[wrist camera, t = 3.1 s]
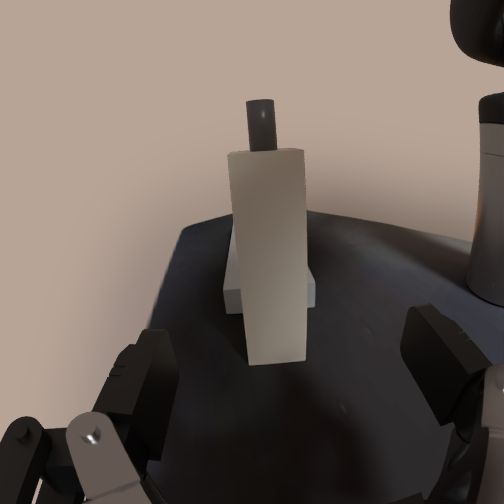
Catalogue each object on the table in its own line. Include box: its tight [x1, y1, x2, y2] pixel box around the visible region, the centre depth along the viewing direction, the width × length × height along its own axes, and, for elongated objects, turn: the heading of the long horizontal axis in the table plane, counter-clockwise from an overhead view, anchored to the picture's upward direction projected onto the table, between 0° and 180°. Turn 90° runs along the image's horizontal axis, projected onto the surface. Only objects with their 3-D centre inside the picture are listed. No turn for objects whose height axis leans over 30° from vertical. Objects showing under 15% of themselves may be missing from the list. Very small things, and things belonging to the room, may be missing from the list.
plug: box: [227, 99, 307, 365], centre depth 19 cm, size 4×4×17 cm
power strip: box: [223, 223, 315, 314], centre depth 39 cm, size 29×8×3 cm, turn 1°
